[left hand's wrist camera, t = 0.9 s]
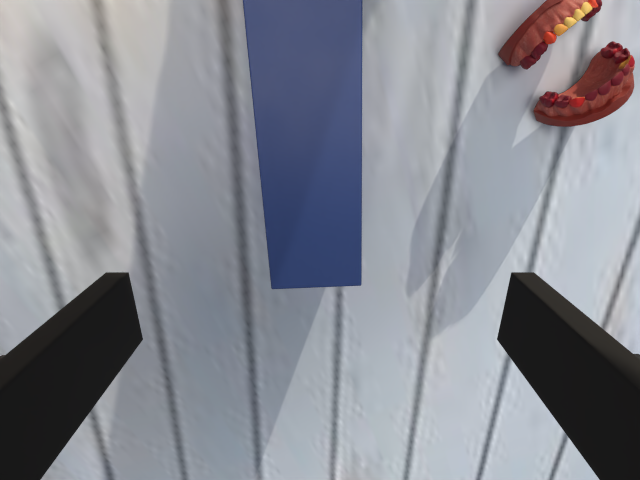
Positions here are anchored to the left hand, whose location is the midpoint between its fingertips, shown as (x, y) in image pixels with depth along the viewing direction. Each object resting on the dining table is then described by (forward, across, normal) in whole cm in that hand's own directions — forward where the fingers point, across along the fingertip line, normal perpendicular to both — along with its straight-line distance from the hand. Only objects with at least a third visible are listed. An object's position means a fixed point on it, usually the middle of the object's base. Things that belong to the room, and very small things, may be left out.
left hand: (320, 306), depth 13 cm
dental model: (+16, -16, -9) cm, 24 cm away
